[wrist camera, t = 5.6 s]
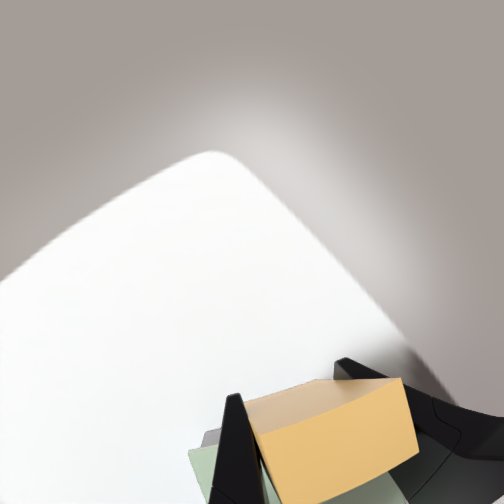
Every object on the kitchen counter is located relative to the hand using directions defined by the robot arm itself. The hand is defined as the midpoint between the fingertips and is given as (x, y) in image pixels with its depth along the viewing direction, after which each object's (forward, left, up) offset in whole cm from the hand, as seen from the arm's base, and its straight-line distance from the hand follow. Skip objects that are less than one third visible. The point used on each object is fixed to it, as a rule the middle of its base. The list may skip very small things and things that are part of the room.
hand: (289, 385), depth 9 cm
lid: (-6, -3, -4) cm, 8 cm away
